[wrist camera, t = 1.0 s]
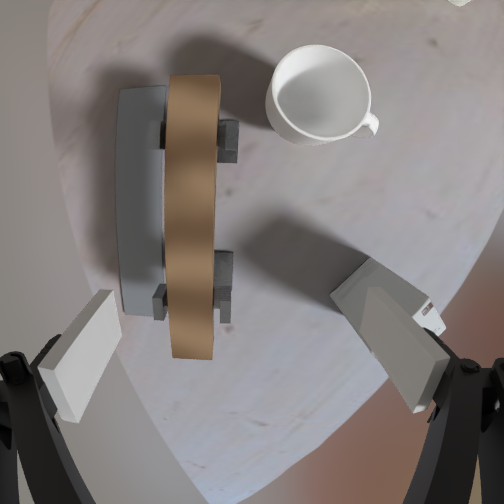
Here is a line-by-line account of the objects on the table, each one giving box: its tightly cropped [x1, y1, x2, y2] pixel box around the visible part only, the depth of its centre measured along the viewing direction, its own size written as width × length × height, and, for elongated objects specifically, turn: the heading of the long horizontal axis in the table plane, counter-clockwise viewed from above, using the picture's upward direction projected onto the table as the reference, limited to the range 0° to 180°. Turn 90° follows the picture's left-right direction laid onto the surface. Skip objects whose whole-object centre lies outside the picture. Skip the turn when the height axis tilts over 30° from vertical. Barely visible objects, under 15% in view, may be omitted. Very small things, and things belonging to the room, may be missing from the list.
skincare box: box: [330, 257, 446, 361], centre depth 34 cm, size 8×6×15 cm
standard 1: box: [148, 121, 239, 163], centre depth 28 cm, size 5×8×11 cm, turn 87°
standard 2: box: [152, 252, 233, 323], centre depth 33 cm, size 5×8×11 cm, turn 87°
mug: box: [265, 45, 379, 146], centre depth 28 cm, size 12×9×12 cm
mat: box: [115, 86, 166, 317], centre depth 35 cm, size 30×6×1 cm, turn 177°
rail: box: [164, 75, 221, 360], centre depth 27 cm, size 26×4×4 cm, turn 177°
